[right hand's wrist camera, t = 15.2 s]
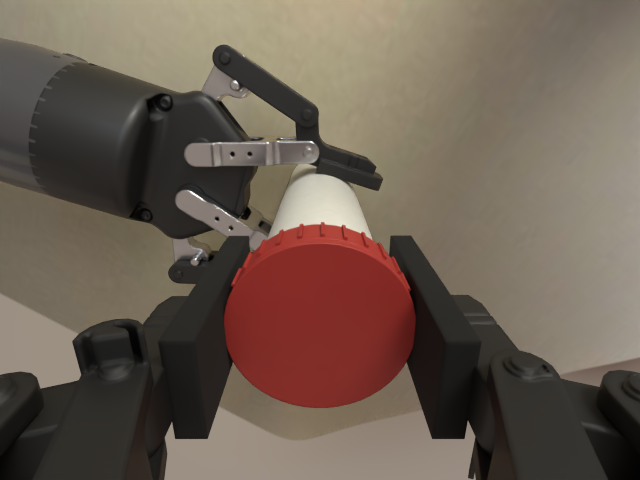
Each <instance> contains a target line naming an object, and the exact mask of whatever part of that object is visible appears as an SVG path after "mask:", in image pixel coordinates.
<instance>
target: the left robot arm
mask: <svg viewBox="0 0 640 480" xmlns="http://www.w3.org/2000/svg"><path fill="white" fill-rule="evenodd" d="M213 62H214V67H213V69H212V71H211V73H210V75H209V77H208V79H207V81H206V83H205V85H204V86H203V88H202V90H201V91H192V92H188V93H179V92H175V91H172V90H169V89H166V88H163V87H160V86H157V85H154V84H151V83H148V82H145V81H142V80H139V79H136V78H133V77H130V76H127V75H124V74H121V73H118V72H115V71H112V70H109V69H106V68H103V67H100V66H97V65H94V64H91V63H88V62H87V61H85V60H83V59H81V58H79V57H76V56H74V55H71V54H61V53H58V52H55V51H52V50H49V49H46V48H42V47H39V46H36V45H32V44H27V43H23V42H17V41H11V40H6V39H2V38H0V181H2V182H5V183H8V184H11V185H14V186H18V187H21V188H25V189H28V190H31V191H35V192H38V193H42V194H45V195H49V196H52V197H55V198H58V199H62V200H65V201H69V202H72V203H76V204H79V205H83V206H86V207H89V208H93V209H96V210H100V211H103V212H106V213H110V214H113V215H117V216H120V217H123V218H127V219H131V220H136V221H142V222H147V223H150V224H152V225H154V226H156V227H157V228H158V229H160V230H161V231H162V232H163V233H164V234H165V235H167V236H168V237H170V238H172V240H173V250H174V260H175V263H174V264H173V265H172V266H171V268H170V269H169V271H168V275H169V277H170V279H171V280H172V281H174V282H176V283H185V284H197V282H198V281H199V279H200V278H201V276H202V275H203V273H204V272H205V270H206V269H207V267H208V266H209V264H210V263H211V261H212V260H213V258H214V257H215V255H216V254H217V253H218V251H212V250H211V248H210V247H209V246H208V245H207V244H204V243H200V242H198V241H196V240H195V239H194V237H193V236H196V235H199V234H202V233H205V232H208V231H211V230H216V231H218V232H219V233H221V234H223V235H224V236H226V237H227V238H228V236H249V243H250V248H251V249H252V250H254V251H255V250H256V249H257V248H258V247H259V246H260V245H261V243H262V241H263V240H264V239H265V240H266V241H267V238H268V236H269V233H270V230H271V228H272V225H273V224H272V223H271V222H269V221H268V220H267V219H265V218H264V217H263V215H262V214H261V213H260V212H259V211H258V210H256V209H255V208H253V207H252V206H250V205H249V204H248V202H249V199H250V182H251V180H252V178H253V177H254V175H255V173H256V172H257V168H258V166H270V165H276V164H309V165H313V166H316V172H319V173H323V174H326V175H329V176H332V177H335V178H338V179H341V180H344V181H347V182H350V183H354V184H357V185H360V186H363V187H366V188H369V189H372V190H376V191H379V188H380V186H381V183H382V181H383V178H382V177H381V175H380V174H378V173H376V172H375V170H376V166H375V165H374V164H373V163H372V162H371V161H370V160H369V159H368V158H367V157H364V156H361V155H358V154H355V153H352V152H349V151H346V150H343V149H340V148H337V147H334V146H331V145H328V144H326V143H325V142H323V141H322V139H321V138H320V135H319V124H318V116H319V112H318V108H317V107H316V106H315V105H314V104H313V103H311V102H310V101H309V100H307V99H306V98H304V97H303V96H301V95H300V94H299V93H297V92H296V91H294V90H293V89H291V88H290V87H289V86H287V85H286V84H284V83H283V82H281V81H280V80H279V79H277V78H276V77H274V76H273V75H271V74H270V73H269V72H267V71H266V70H264V69H263V68H261V67H260V66H259V65H257V64H256V63H254V62H253V61H251V60H250V59H249V58H247V57H246V56H244V55H243V54H241V53H240V52H238V51H237V50H235V49H233V48H232V47H230V46H228V45H220V46H218V47H217V48H216V49H215V50H214V52H213ZM251 92H252V93H254V94H255V95H257V96H258V97H260V98H261V99H263V100H264V101H266V102H267V103H269V104H270V105H271V106H273V107H274V108H276V109H277V110H279V111H280V112H282V113H283V114H285V115H286V116H288V117H289V118H291V119H292V120H293V121H295V122H296V137H279V136H248V135H247V134H246V133H245V131H244V130H243V129H242V128H241V126H240V125H239V124H238V122H237V121H236V120H235V118H234V117H233V116H232V115H231V113H230V112H229V111H228V109H227V108H226V107H225V105H224V104H223V103H222V102H221V100H222V99H223V98H224V97H225V96H227V95H230V96H233V97H235V98H245V97H247V96H249V94H250V93H251ZM231 226H232V227H231ZM251 253H253V252H251Z"/></svg>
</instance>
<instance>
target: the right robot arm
mask: <svg viewBox="0 0 640 480" xmlns="http://www.w3.org/2000/svg"><path fill="white" fill-rule="evenodd" d="M249 253H250V243H249V236H228V238H227V239H226V241H225V242H224V244H223V245H222V247H221V248H220V250H219V251H218V253H217V254H216V255H215V257H214V258H213V260H212V261H211V263H210V264H209V266H208V267H207V269H206V270H205V272H204V273H203V275H202V276H201V278H200V279H199V281H198V282H197V284H196V285H195V287H194V288H193V290H192V291H191V293H190V294H189V296H171V297H170V298H168V299H167V300H165V301H164V302H162V303H160V304H159V305H158V306H157V307H156V308H155V310H154V311H153V312H152V313H151V315H150V317H148V318H147V320H146V321H145V322H144V323H143V325H142V324H141V323H140V322H138V321H136V320H132V319H115V320H110V321H105V322H102V323H99V324H97V325H94V326H92V327H89V328H88V329H86V330H84V331H83V332H81V333H80V334H78V336H77V337H76V338H75V339H74V340H73V341H72V342H73V346H74V350H75V353H76V357H77V360H78V364H79V368H80V371H81V377H80V379H79V380H78V381H74V382H71V383H66V384H61V385H56V386H51V387H47V388H42V389H40V386H39V383H38V380H37V377H35V376H34V375H33V374H31V373H26V372H14V373H7V374H2V375H0V480H164V476H165V468H166V460H167V448H166V443H165V435H166V433H167V431H168V429H169V427H170V425H171V422H172V423H173V429H174V434H175V439H207V438H208V436H209V433H210V430H211V427H212V424H213V421H214V418H215V415H216V412H217V409H218V406H219V403H220V400H221V397H222V393H223V390H224V387H225V384H226V381H227V378H228V375H229V372H230V369H231V366H232V363H233V360H232V359H231V356H230V354H229V352H228V350H227V345H226V336H225V327H224V312H225V306H226V304H227V300H228V297H229V295H230V293H231V291H232V289H233V287H232V286H231V284H232V282H233V280H234V278H235V276H236V274H237V272H238V269H239V268H241V269H242V266H243V264H244V262H245V260H246V258H247V256H248V254H249ZM389 256H390V257H392V256H393V257H394V258H395V260H396V262H397V264H398V266H399V269H400V271H401V273H402V272H403V274H404V276H405V278H406V281H407V283H408V285H409V287H410V289H411V291H410V292H409V294H410V296H411V299H412V301H413V304H414V308H415V313H416V323H415V333H414V343H413V348H412V351H411V353H410V356H409V358H408V360H407V364H408V367H409V370H410V373H411V376H412V379H413V382H414V385H415V388H416V391H417V394H418V397H419V400H420V403H421V406H422V409H423V412H424V415H425V419H426V422H427V424H428V427H429V431H430V434H431V436H432V439H464V438H465V433H466V427H467V421H469V423H470V425H471V428H472V430H473V432H474V434H475V436H476V437H475V443H474V448H473V453H472V458H471V463H470V469H469V475H468V478H471V479H473V478H474V473H475V475H476V480H640V373H637V372H632V371H624V370H616V371H609V372H608V373H606V374H605V375H604V376H603V379H602V382H601V385H600V387H597V386H592V385H587V384H582V383H577V382H573V381H568V380H564V379H561V378H560V376H559V374H558V373H557V372H556V370H555V369H554V368H553V366H551V365H550V364H549V363H547V362H546V361H545V360H543V359H542V358H539V357H537V356H535V355H533V354H531V353H527V352H523V351H519V350H518V349H517V347H516V346H515V345H514V344H513V342H512V341H511V340H510V339H509V337H508V336H507V335H506V334H505V332H504V331H503V330H502V328H501V327H500V326H499V325H497V322H496V321H495V320H494V318H493V317H492V316H490V313H489V312H488V311H487V310H486V308H485V307H484V306H483V305H482V304H481V303H480V302H478V301H477V300H475V299H473V298H472V297H470V296H469V295H450V293H449V292H448V290H447V289H446V287H445V286H444V284H443V283H442V281H441V280H440V278H439V277H438V275H437V274H436V272H435V271H434V269H433V268H432V266H431V265H430V263H429V262H428V260H427V259H426V257H425V256H424V254H423V253H422V251H421V250H420V248H419V247H418V246H417V244H416V243H415V241H414V240H413V238H412V237H411V236H391V239H390V253H389Z"/></svg>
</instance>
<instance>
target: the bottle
mask: <svg viewBox="0 0 640 480" xmlns="http://www.w3.org/2000/svg"><path fill="white" fill-rule="evenodd" d="M321 222H325V224H327V225H336V226H340V227H342V225H346V228H348V229H351V230H354V231H356V232H359V233H361V232H364V233H365V234H366V237H368V238H370V239H371V240H373V239H372V236H371V234H370V231H369V229H368V226H367V223H366V221H365V218H364V215H363V213H362V210H361V207H360V205H359V202H358V200H357V197H356V194H355V192H354V189H353V186H352V184H351V183H350V182H347V181H344V180H341V179H338V178H335V177H332V176H329V175H326V174H323V173H319V172H316V166H313V165H309V164H298V165H297V166H296V167H295V169H294V171H293V173H292V175H291V178H290V180H289V183H288V186H287V188H286V191H285V194H284V196H283V199H282V201H281V204H280V207H279V209H278V212H277V215H276V217H275V220H274V222H273V225H272V228H271V230H270V233H269V236H268V238H267V240H268V239H270V238H272V237H273V236H275V235H277V234H279V231H280V230H282V229H283V230H284V231H286V230H288V229H292V228H295V227H299V225H300V224H303V225H304V226H305V225H312V224H321Z"/></svg>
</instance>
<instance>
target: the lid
mask: <svg viewBox="0 0 640 480" xmlns="http://www.w3.org/2000/svg"><path fill="white" fill-rule="evenodd" d="M231 286H232V287H233V289H232V291H231V293H230V295H229V297H228V300H227V304H226V306H225V312H224V327H225V336H226V345H227V350H228V352H229V354H230V356H231V359H232V360H233V362H234V364H235V365H236V367H237V369H238V370H239V371H240V372H241V373H242V375H243V376H244V377H245V378H246V379H247V380H248V381H249V382H250V383H251V384H252V385H254V386H255V387H256V388H258V389H259V390H261V391H262V392H264V393H266V394H267V395H269V396H271V397H273V398H275V399H278V400H280V401H282V402H286V403H289V404H292V405H297V406H302V407H311V408H329V407H338V406H343V405H347V404H351V403H354V402H357V401H360V400H362V399H364V398H367V397H369V396H371V395H373V394H374V393H376V392H377V391H379V390H381V389H382V388H383V387H385V386H386V385H387V384H388V383H390V382H391V381H392V380H393V379H394V378H395V377H396V376H397V374H398V373H399V372H400V371H401V369H402V368H403V367H404V365H405V363H406V362H407V360H408V358H409V356H410V353H411V351H412V348H413V343H414V333H415V323H416V313H415V308H414V304H413V301H412V299H411V296H410V294H409V292H410V291H411V289H410V287H409V285H408V283H407V281H406V278H405V276H404V274H403V272H402V273H401V271H400V269H399V266H398V264H397V262H396V260H395V258H394V257H393V256H392V257H390V256H389V255H388V254H387V252H386V251H385V250H384V248H383V246H382V244H381V243H380V242H379V243H378V244H377V243H376V242H374V241H373V240H371V239H370V238H368V237H366V234H365V233H364V232H361V233H359V232H356V231H354V230H351V229H348V228H346V225H342V227H340V226H336V225H327V224H325V222H321V224H312V225H305V226H304V225H303V224H300V225H299V227H295V228H292V229H288V230H286V231H284V230H283V229H282V230H280V231H279V234H277V235H275V236H273V237H272V238H270V239H268V240H267V241H266V240H265V239H264V240H263V241H262V243H261V245H260V246H259V247H258V248H257V249H256V250H255V251H254V252H253V253H251V252H250V253H249V254H248V256H247V258H246V260H245V262H244V264H243V266H242V269H241V268H239V269H238V272H237V274H236V276H235V278H234V280H233V282H232V284H231Z"/></svg>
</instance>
